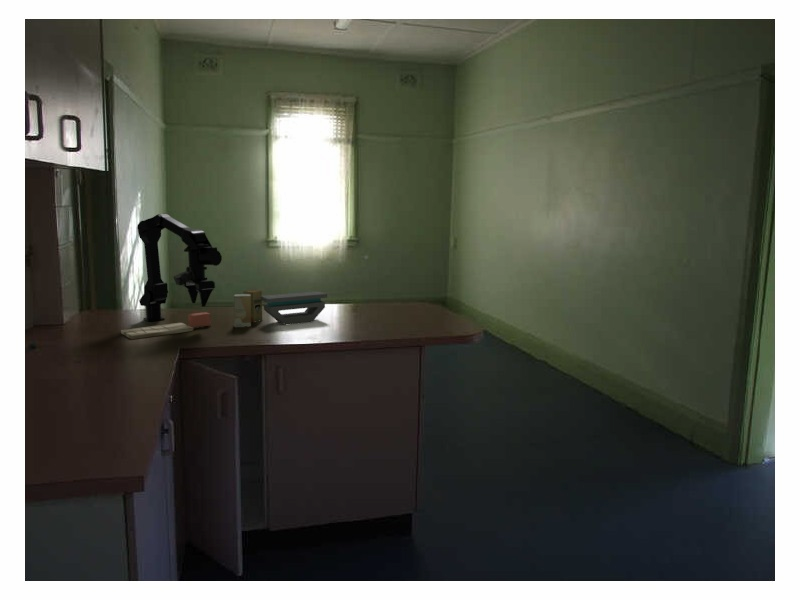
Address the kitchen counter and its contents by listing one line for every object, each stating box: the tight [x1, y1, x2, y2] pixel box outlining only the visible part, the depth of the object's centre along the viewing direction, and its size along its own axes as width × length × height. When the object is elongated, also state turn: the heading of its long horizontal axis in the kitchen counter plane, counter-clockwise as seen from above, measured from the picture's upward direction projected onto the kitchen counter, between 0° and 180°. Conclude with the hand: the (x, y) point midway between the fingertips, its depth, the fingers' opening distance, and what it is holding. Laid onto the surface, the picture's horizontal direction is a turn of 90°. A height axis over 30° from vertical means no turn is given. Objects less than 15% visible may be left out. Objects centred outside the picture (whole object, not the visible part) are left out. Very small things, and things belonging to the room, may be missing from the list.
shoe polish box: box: [243, 289, 263, 323], centre depth 244 cm, size 5×5×12 cm
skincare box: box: [233, 293, 252, 328], centre depth 234 cm, size 6×4×12 cm
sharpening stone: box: [261, 290, 328, 326], centre depth 243 cm, size 25×8×11 cm, turn 122°
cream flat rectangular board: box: [120, 322, 194, 340], centre depth 223 cm, size 12×22×1 cm, turn 131°
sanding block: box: [187, 311, 212, 329], centre depth 233 cm, size 4×7×5 cm, turn 131°
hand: (198, 304), depth 233 cm, fingers open, 9 cm apart
